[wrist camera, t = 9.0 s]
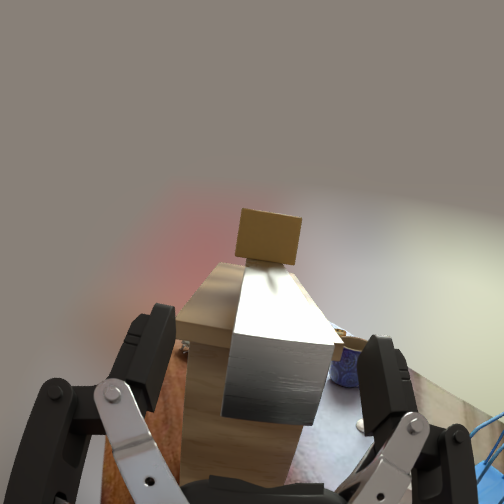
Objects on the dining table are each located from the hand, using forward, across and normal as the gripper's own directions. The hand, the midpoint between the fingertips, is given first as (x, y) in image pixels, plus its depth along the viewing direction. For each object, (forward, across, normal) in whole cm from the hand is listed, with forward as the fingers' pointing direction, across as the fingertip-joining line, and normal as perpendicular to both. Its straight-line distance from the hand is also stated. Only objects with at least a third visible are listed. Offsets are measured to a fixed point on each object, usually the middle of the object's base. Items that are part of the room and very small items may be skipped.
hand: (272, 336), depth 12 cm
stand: (-1, 0, +37) cm, 37 cm away
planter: (+36, -29, +59) cm, 74 cm away
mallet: (+6, 0, +5) cm, 8 cm away
